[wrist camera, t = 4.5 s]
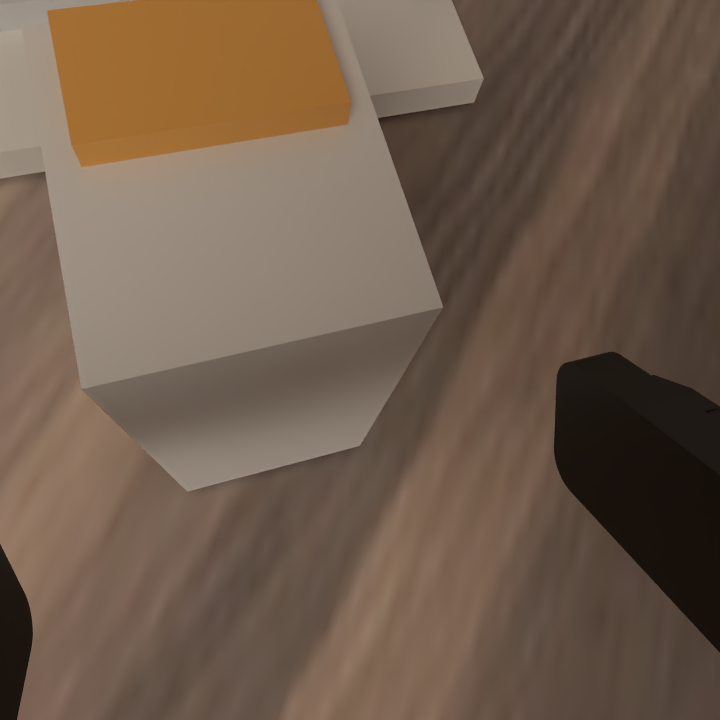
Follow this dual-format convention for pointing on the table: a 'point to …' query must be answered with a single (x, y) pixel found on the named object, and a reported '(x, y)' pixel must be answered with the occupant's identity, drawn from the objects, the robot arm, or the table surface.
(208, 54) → the rail module
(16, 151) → the mounting board
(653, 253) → the table surface
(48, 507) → the table surface
